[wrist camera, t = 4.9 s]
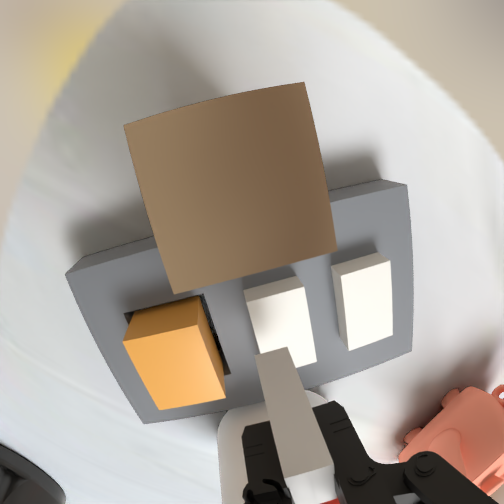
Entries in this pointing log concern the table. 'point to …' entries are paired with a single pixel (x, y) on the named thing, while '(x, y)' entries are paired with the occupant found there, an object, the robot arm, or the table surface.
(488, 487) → the teapot
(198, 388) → the orange rectangular block
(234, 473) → the cup
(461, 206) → the table surface
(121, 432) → the table surface
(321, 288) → the panel
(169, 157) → the oak post
